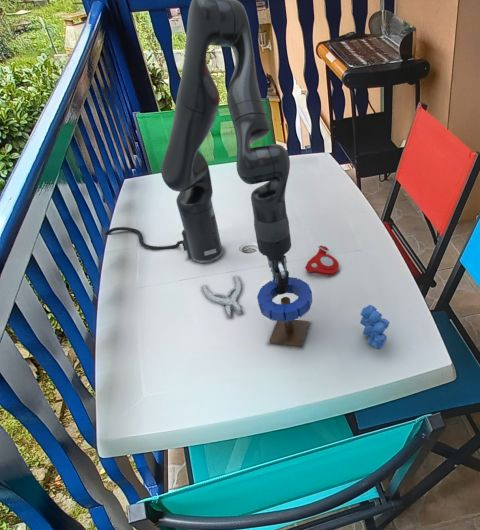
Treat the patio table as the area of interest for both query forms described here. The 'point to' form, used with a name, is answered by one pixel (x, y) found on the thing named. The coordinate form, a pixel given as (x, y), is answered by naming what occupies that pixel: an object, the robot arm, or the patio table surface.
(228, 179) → the patio table surface
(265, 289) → the ring
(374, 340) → the grapes
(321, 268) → the tracker holder
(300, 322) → the post
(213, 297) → the pliers
